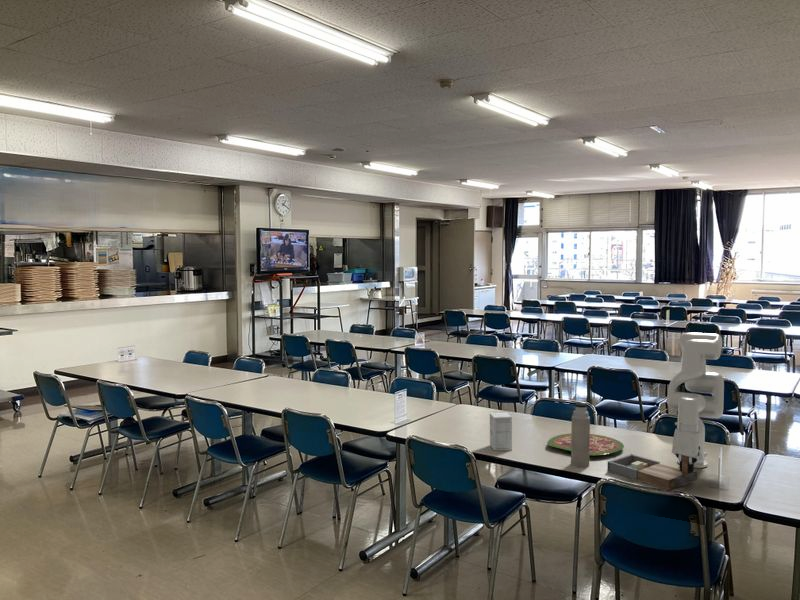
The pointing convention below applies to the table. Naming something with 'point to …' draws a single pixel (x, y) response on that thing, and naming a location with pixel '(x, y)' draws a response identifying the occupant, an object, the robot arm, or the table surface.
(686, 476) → the scraper
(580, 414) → the thermos bottle
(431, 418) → the table surface
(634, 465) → the sage tile
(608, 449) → the pizza
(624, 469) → the box
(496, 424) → the supplement box
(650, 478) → the tan flat block
